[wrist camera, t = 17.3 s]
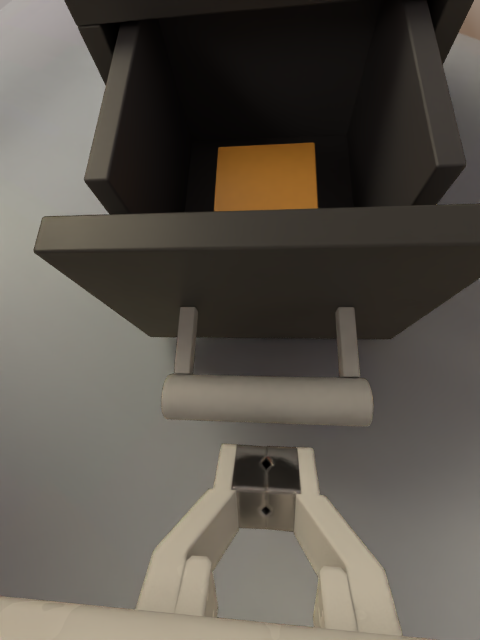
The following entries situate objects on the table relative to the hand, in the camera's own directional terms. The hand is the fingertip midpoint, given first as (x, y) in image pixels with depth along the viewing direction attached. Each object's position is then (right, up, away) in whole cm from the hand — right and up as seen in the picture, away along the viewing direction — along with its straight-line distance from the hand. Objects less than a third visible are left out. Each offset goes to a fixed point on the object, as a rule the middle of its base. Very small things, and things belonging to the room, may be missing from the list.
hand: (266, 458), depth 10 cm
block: (+1, +9, +6) cm, 11 cm away
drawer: (+1, +8, +7) cm, 11 cm away
